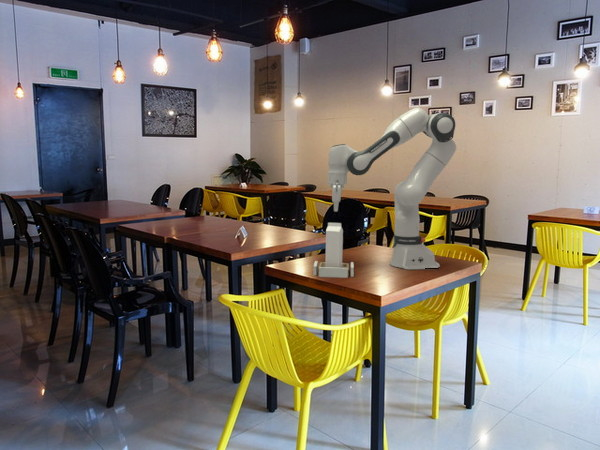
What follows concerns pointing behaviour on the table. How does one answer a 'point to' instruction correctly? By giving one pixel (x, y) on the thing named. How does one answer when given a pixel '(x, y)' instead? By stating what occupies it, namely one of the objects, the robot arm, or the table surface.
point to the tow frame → (344, 265)
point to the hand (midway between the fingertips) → (336, 210)
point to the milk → (334, 245)
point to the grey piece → (332, 271)
